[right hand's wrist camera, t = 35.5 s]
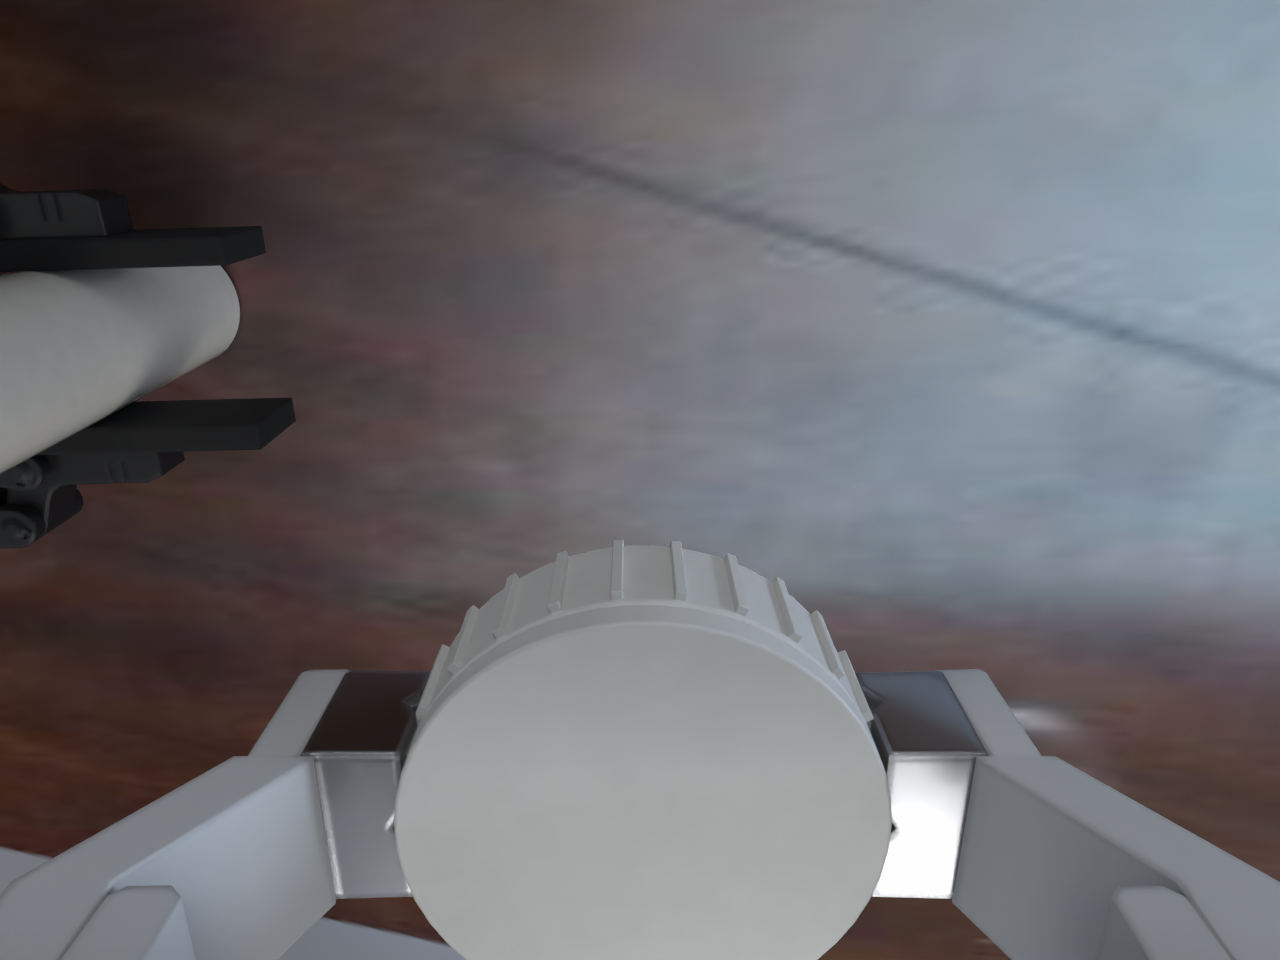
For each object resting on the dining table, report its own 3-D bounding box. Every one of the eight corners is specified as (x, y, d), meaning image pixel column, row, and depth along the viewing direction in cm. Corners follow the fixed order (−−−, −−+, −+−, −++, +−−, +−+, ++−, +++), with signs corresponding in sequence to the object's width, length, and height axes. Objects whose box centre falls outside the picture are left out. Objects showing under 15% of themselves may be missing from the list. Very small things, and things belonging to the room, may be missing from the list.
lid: (711, 447, 9) (727, 512, 7) (934, 783, 10) (988, 895, 9) (332, 680, 10) (275, 782, 8) (586, 957, 11) (579, 1086, 10)
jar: (255, 357, 32) (-129, 586, 16) (136, 369, 32) (-364, 609, 16) (222, 232, 30) (-243, 346, 14) (97, 246, 31) (-502, 374, 14)
